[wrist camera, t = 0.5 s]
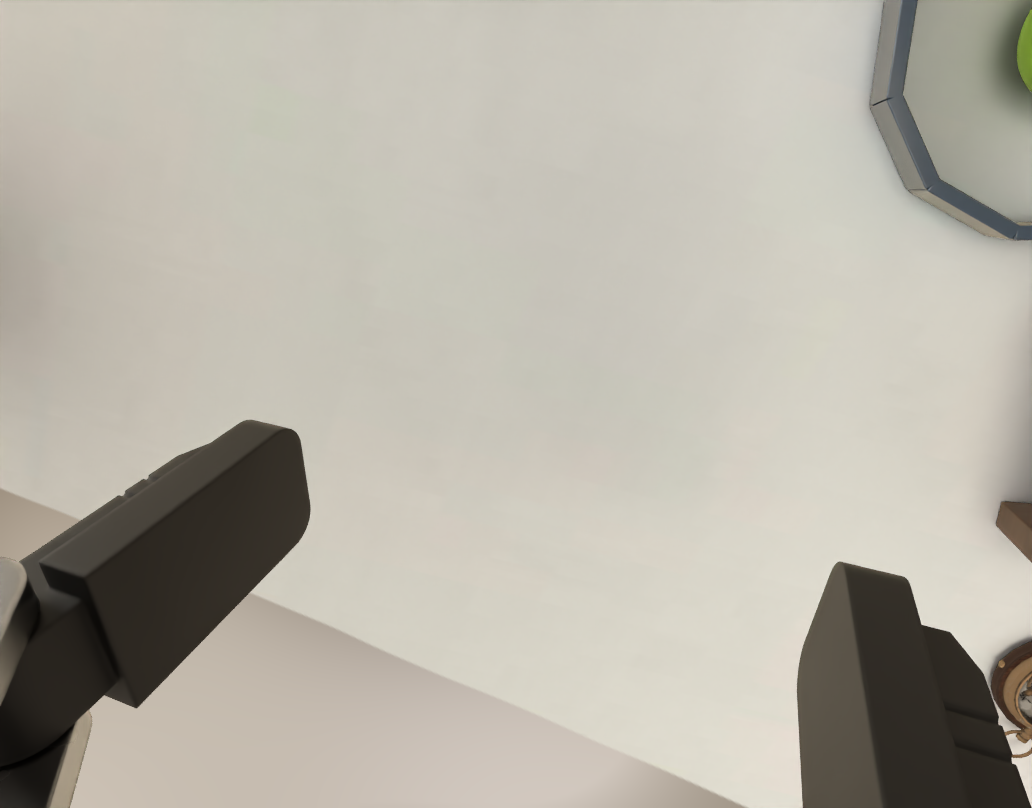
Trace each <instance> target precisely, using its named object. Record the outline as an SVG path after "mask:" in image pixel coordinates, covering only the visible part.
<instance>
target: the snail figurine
mask: <svg viewBox="0 0 1032 808" xmlns="http://www.w3.org/2000/svg"><path fill="white" fill-rule="evenodd" d="M1017 64H1018V69H1019V72H1020V75H1021V78H1022V80H1023V82H1024V83H1025V85H1026V86H1027V88H1028V89H1029V90H1030V91H1031V92H1032V9H1031V10H1030V12H1029V14H1028V16H1027V18H1026V20H1025V22H1024V24H1023V27H1022V29H1021V32H1020V36H1019V40H1018V45H1017Z"/></svg>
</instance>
